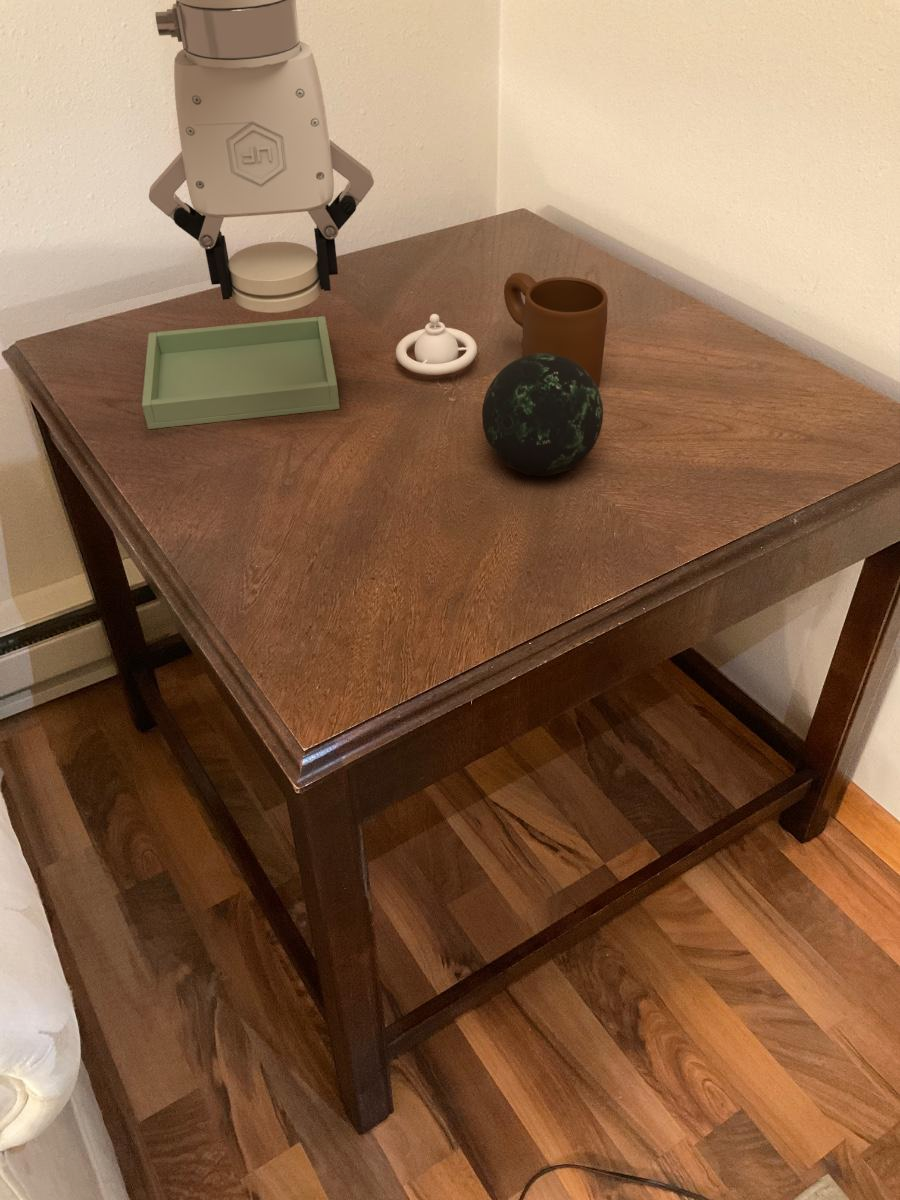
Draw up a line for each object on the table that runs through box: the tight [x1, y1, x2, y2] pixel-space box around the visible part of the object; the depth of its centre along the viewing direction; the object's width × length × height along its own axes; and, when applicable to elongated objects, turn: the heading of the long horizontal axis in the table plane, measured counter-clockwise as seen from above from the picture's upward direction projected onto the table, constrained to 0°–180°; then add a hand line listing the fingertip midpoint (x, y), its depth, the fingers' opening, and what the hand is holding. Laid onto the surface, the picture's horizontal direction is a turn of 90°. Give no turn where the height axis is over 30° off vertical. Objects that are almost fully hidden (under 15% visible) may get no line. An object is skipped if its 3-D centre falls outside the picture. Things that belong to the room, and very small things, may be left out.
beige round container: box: [228, 241, 322, 314], centre depth 76 cm, size 7×7×3 cm
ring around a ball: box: [395, 313, 478, 376], centre depth 96 cm, size 8×6×8 cm
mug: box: [503, 272, 609, 389], centre depth 93 cm, size 12×8×9 cm, turn 38°
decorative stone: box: [481, 353, 604, 477], centre depth 82 cm, size 10×10×10 cm
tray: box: [141, 315, 341, 430], centre depth 95 cm, size 18×14×3 cm
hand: (276, 285), depth 76 cm, fingers closed on beige round container, 6 cm apart
